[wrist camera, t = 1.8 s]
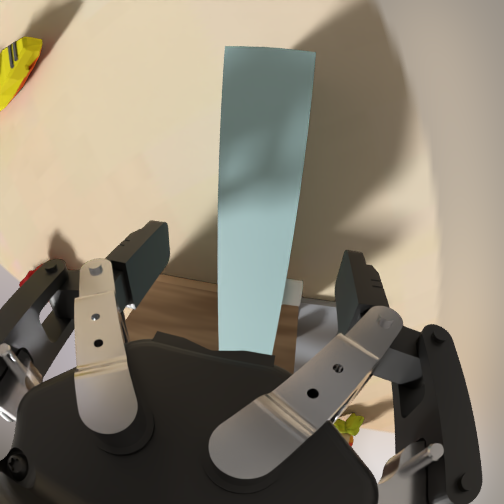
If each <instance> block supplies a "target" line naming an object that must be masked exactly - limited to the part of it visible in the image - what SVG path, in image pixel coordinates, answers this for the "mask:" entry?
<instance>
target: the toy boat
mask: <svg viewBox="0 0 504 504" xmlns="http://www.w3.org/2000/svg"><path fill="white" fill-rule="evenodd" d="M42 44H43V43H42V39H38V38H32V37H22V38H21V39H19V40H17V41H16V42H14V43H12V44H11V45H9V46H8V47H6V48H5V49H3V50H2V52H1V53H0V111H1V110H2V109H4V108H5V107H6V106H7V105H8V104H9V103H10V102H11V100H12V99H13V98H14V97H15V96H16V95H17V93H18V92H19V91H20V90H21V88H22V87H23V86H24V84H25V82H26V80H27V78H28V76H29V74H30V73H31V71H32V69H33V68H34V66H35V64H36V62H37V60H38V58H39V55H40V53H41V49H42ZM6 77H7V78H6Z"/></svg>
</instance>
